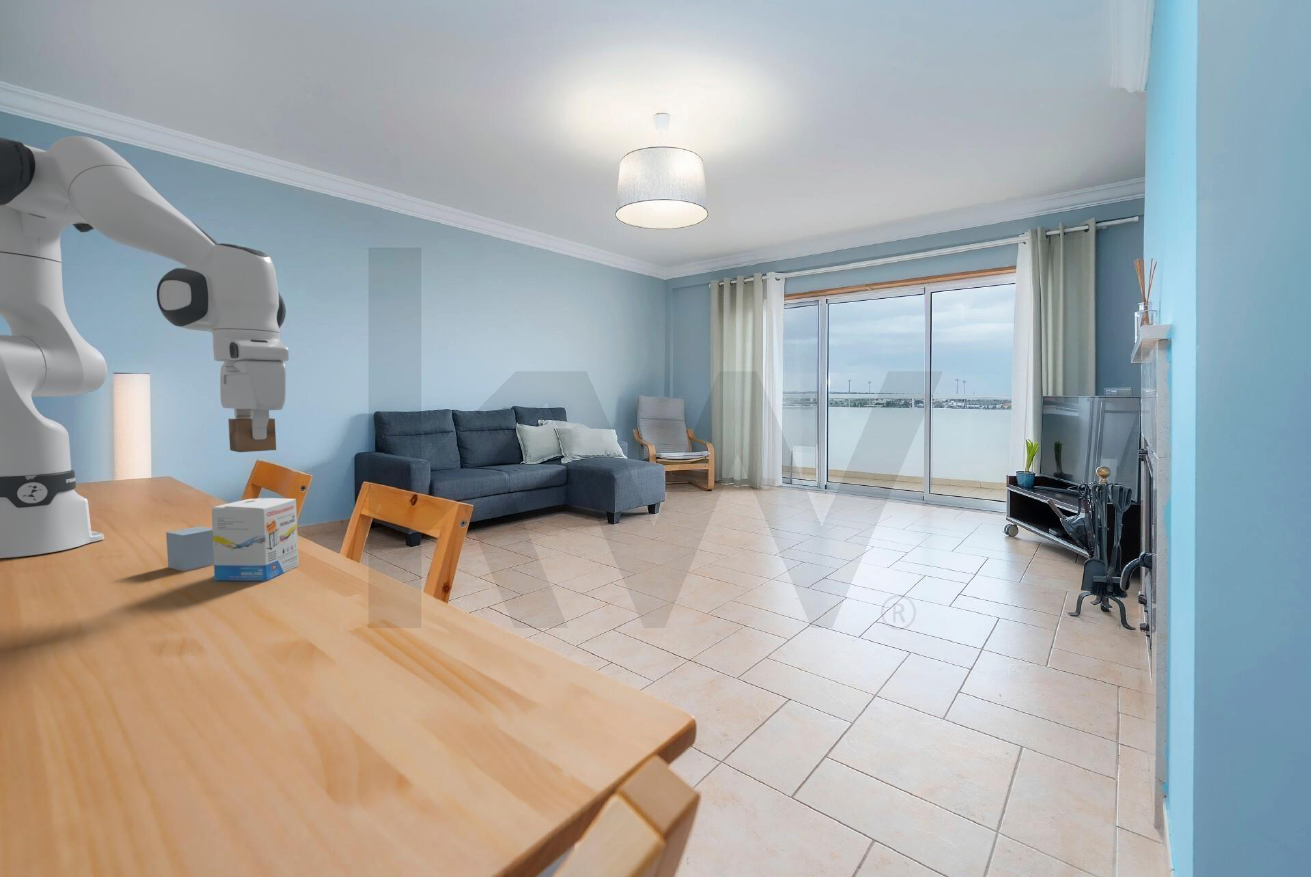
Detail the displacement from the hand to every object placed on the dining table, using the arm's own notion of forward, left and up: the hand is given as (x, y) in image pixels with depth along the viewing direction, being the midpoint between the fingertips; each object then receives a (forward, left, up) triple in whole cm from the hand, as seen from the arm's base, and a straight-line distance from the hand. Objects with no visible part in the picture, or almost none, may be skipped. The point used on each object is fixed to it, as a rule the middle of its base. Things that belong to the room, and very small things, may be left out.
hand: (252, 438), depth 94 cm
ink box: (0, 0, -22) cm, 22 cm away
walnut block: (0, 0, -2) cm, 2 cm away
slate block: (-13, -6, -22) cm, 26 cm away
